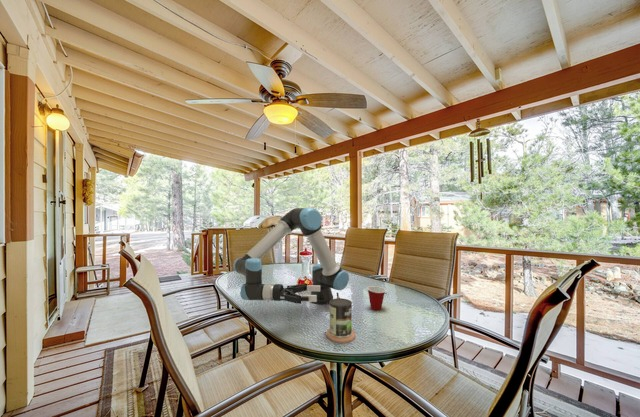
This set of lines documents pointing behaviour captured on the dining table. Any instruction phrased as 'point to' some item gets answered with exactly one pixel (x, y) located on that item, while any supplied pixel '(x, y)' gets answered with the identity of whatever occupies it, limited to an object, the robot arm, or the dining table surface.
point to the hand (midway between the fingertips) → (318, 293)
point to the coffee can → (340, 317)
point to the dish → (340, 340)
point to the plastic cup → (376, 297)
